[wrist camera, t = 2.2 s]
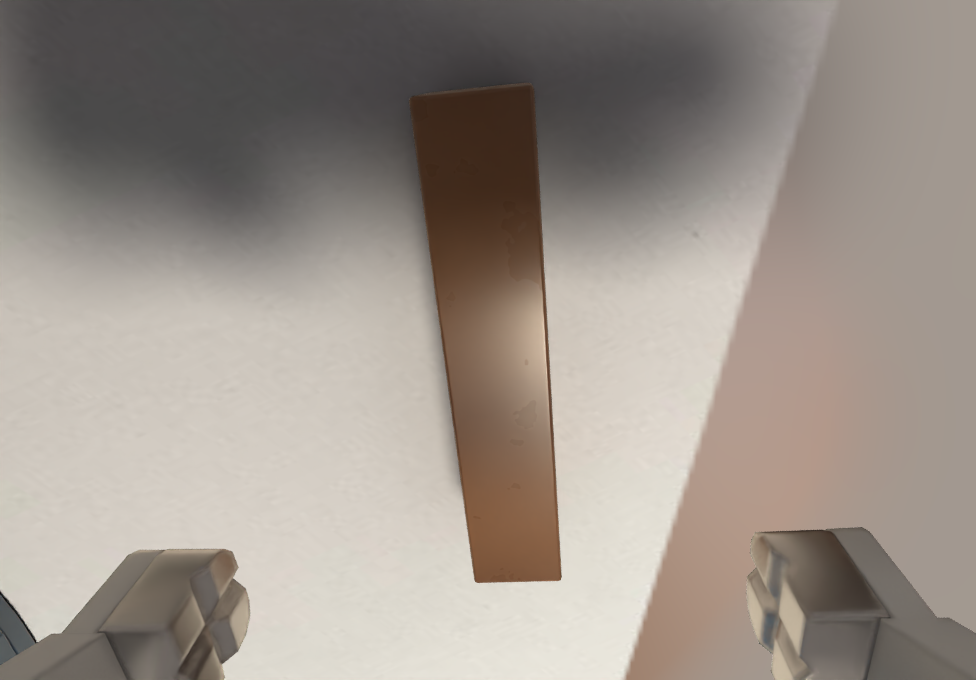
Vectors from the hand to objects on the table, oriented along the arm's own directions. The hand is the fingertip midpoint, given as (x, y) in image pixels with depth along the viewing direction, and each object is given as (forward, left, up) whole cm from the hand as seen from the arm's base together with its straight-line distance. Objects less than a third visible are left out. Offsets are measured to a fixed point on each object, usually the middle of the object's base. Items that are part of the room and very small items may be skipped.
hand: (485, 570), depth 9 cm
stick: (0, 0, -9) cm, 9 cm away
